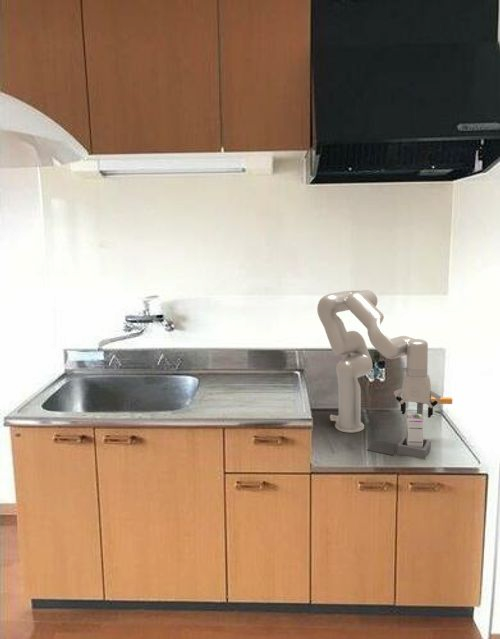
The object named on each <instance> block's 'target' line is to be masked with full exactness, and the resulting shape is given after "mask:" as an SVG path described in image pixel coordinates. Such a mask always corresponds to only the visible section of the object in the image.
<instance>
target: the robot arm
mask: <svg viewBox="0 0 500 639" xmlns="http://www.w3.org/2000/svg"><path fill="white" fill-rule="evenodd" d="M377 305H378V298H377V295H376V294H375V293H374V292H373V291H372V290H368V289H363V290H344V291H338V292H333V293H329V294H325V295H324V296H323V297H322V298H320V300H318V304H317V306H316V307H317V309H316V310H317V315H318V316H317V317H318V319H319V320H320V322H321V325H322V326H323V328H324V331H325V334H326V336H327V340H328V342H329V344H330V347H331V350H332V352H333V354H334V355H336V356H338V357H342V356H346V355H350V356H348V357H345V358H343V359H341V360H339V362H337V364H336V369H335V373H336V377H337V384H338V385H337V386H338V387H337V388H338V392H337V393H338V415H335V414H330V415H329V419H330V421H332V422H335V423H334V427H335V429H336V430H337V431H339V432H343V433H347V434H352V433H353V434H354V433H359V432H362V431H363V430H364V429H365V424H364V423H363V422H362V420H361V418H362V416H361V414H362V413H361V408H362V407H361V406H362V396H361V395H362V394H361V393H362V391H361V390H362V389H361V385H360V383H359V380H358V378H360V377H364V376H367V375H368V374H370V373H371V372H372V370H373V366H374V365H373V360H372V357H371V354H370V352H369V349H368V346H367V344H366V341H365V339H364V337H363V335H362V334H361V333H359V331H357V330H356V331H355V330H349V331H347V329H346V326H345V324H344V322H343V320H342V319H341V317H340V316H339V315H338V314H337V313H341V312H346V311H349V312H351V313H352V314H353V316H355V318H356V319H357V320H358V321H359V322H360V323H361V324H362V325H363V326H364V327H365V328H366V330H367V335H368V336H367V337H368V338H369V341H370V343H371V345H372V347H373V348H375V350H377V352H378V353H379V354H380V355H381V356H383V357H384V358H386V359H389V360H394V359H397V358H400V357H404V356H406V367H403V368H402V372H405V374H404V375H403V380H402V388H399V389H397V390H394V391H393V395H394V397H395V399H396V400H397V402H399V404H400V412H401V415H405V413H406V412H407V410H406V409H407V408H406V407H407V404H406V402H409V403H410V402H411V403H416V402H417V403H427V404H426V405H427V406H428V407H427V418H429V419H430V418H432V416H433V415H434V407H435V406H436V405H438V404H437V403H438V402H439V400H440V398H441V397H442V396H441V395H439V394H438V393H435V392H434V391H432V385H431V384H432V383H431V377H430V375H428V361H429V360H428V359H429V358H428V355H429V354H428V353H429V347H428V345H429V344H428V342H427V340H424V339H422V338H421V339H420V338H418V339H417V338H413V337H409V336H406V335H400V336H396V337H392V338H389V337H388V335H387V334H385V333H384V331H383V330H382V328H381V324H382V322H384V317H385V316H384V314H383V312H382V311H381V310H379V309H378V308H377ZM399 394H401V396H400V395H399ZM431 397H434V398H436V400H435V401H434V402H432V401H431V400H430V399H431ZM417 403H416V404H417Z"/></svg>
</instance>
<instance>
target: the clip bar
mask: <svg viewBox="0 0 500 639" xmlns="http://www.w3.org/2000/svg"><path fill="white" fill-rule="evenodd" d="M430 400H431V401H432V402H434V401H435V400H436V398H434V397H433V396H431V399H430ZM415 404H417V402H415ZM418 404H423V405H424V404H425V405H427V403H418ZM436 405H453V398H452V397H450V396H448V397H444V396H443V397H442V396H441V398H440V400H439V402H438V403H437V404H436Z"/></svg>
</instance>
